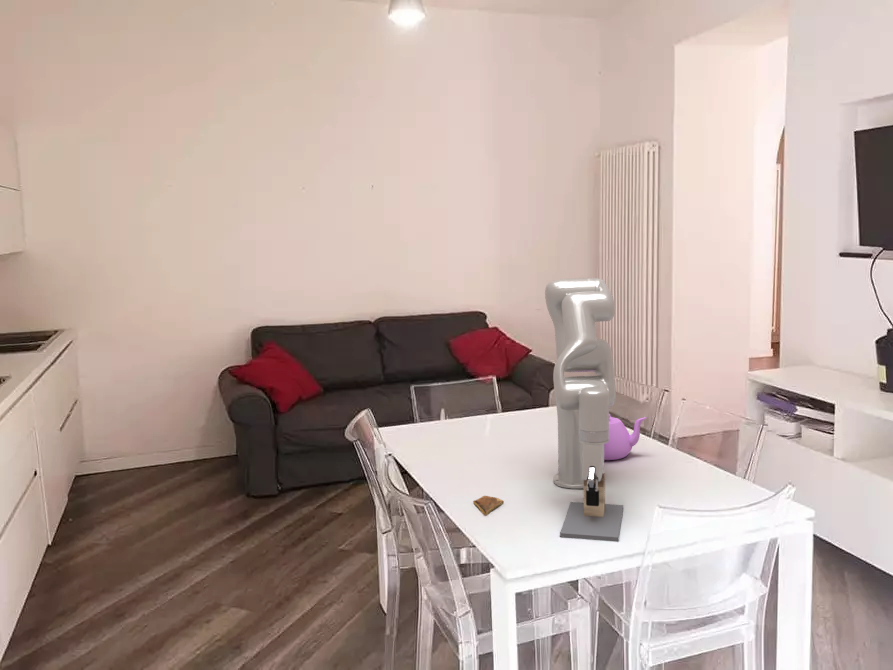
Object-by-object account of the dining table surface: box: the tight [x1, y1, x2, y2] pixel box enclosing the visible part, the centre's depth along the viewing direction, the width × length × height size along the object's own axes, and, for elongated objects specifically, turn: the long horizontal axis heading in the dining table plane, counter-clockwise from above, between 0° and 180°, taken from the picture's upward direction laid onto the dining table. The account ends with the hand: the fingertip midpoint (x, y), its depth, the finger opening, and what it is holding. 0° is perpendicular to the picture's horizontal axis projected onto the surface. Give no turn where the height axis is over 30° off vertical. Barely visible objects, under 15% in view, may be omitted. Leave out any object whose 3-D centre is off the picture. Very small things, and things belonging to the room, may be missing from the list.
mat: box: [559, 501, 624, 542], centre depth 207 cm, size 22×14×1 cm, turn 165°
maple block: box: [583, 472, 606, 517], centre depth 210 cm, size 5×5×10 cm
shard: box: [472, 495, 505, 516], centre depth 220 cm, size 11×8×2 cm
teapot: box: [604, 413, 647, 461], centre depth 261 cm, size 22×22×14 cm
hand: (594, 498), depth 210 cm, fingers open, 9 cm apart
